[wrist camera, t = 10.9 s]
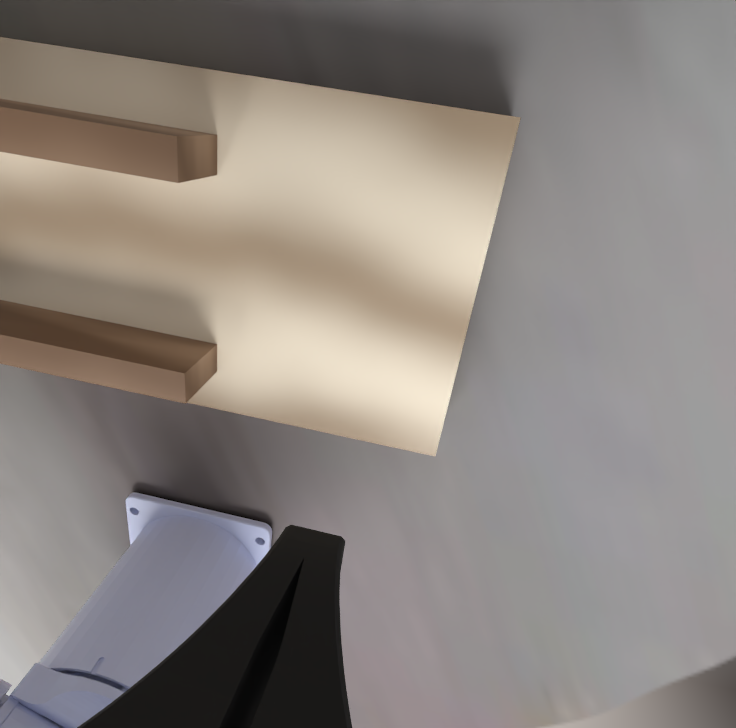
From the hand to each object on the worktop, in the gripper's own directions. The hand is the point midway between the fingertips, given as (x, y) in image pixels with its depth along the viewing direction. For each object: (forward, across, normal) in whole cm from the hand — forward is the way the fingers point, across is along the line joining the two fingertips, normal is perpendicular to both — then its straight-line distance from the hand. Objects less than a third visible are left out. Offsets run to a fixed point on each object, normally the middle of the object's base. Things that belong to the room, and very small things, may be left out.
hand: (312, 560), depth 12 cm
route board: (+10, +13, -4) cm, 17 cm away
